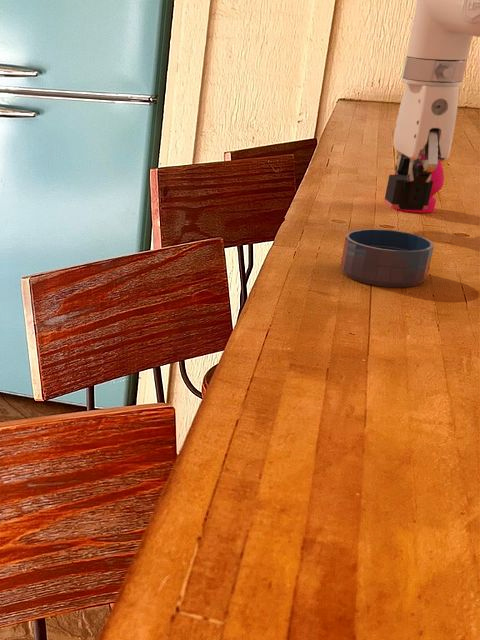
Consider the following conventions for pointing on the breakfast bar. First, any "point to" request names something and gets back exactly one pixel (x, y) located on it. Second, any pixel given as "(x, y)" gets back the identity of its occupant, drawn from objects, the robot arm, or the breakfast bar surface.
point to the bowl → (386, 257)
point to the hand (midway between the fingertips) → (405, 204)
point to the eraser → (400, 191)
